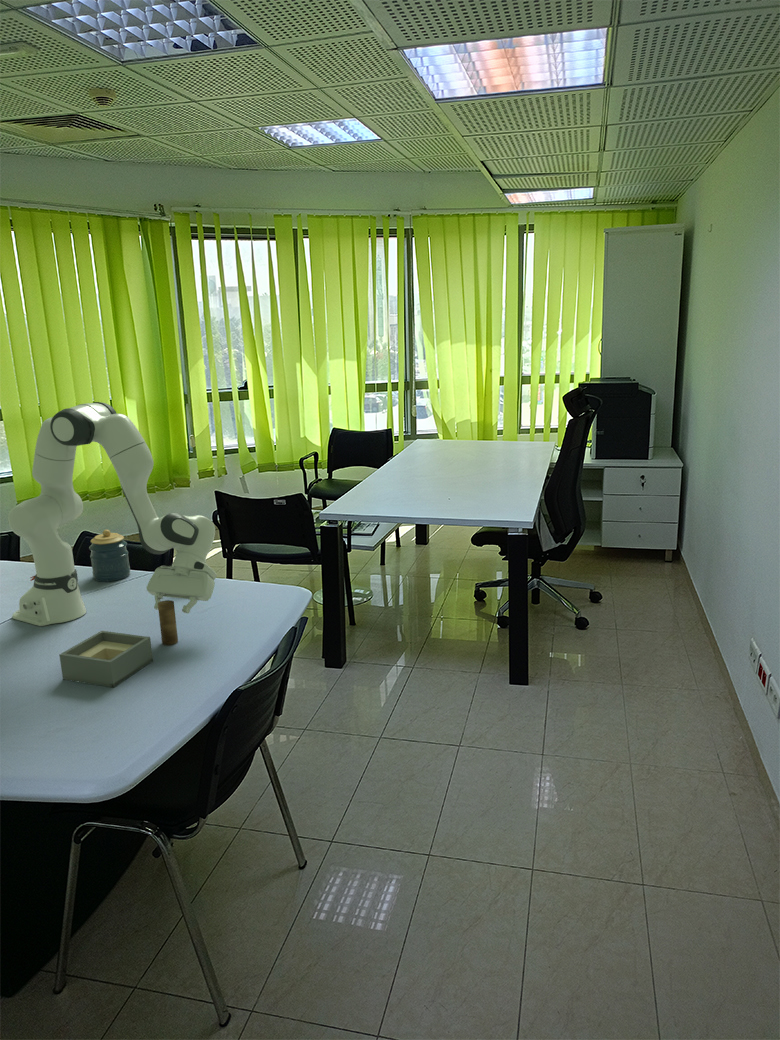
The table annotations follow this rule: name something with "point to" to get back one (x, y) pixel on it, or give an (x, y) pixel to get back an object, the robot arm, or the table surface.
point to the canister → (109, 557)
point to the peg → (167, 622)
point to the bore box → (106, 658)
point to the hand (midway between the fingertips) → (171, 610)
